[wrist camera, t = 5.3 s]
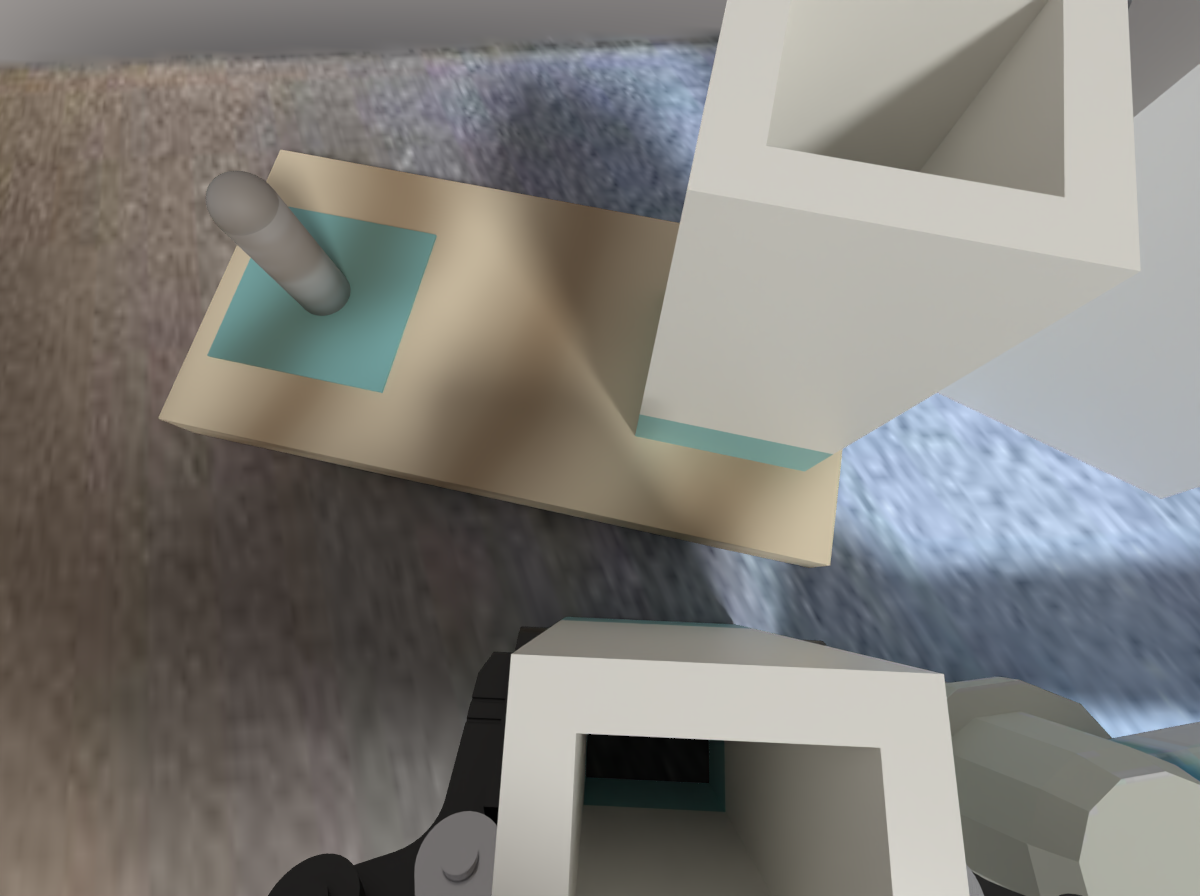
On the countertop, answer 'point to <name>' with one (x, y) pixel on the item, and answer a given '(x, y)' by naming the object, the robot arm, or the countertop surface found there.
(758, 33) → the seated sleeve
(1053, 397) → the grater
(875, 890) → the sleeve
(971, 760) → the electric toothbrush
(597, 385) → the pin board
